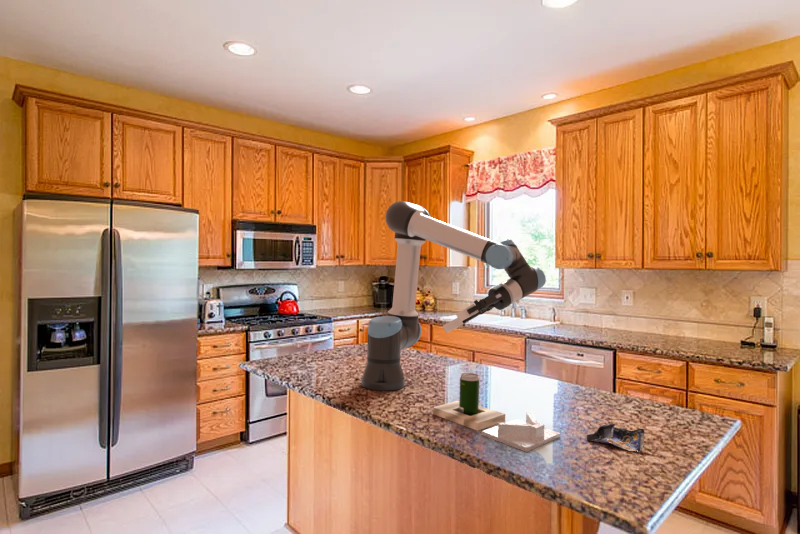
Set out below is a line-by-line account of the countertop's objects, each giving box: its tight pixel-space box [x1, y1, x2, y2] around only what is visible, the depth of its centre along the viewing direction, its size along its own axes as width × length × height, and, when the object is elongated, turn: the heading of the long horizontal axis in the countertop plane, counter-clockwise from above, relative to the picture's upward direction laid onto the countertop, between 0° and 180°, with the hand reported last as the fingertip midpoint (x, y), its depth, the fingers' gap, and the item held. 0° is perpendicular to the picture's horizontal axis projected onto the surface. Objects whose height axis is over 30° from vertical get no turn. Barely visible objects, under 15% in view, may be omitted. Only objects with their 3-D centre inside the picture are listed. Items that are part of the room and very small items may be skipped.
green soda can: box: [459, 372, 480, 416], centre depth 128 cm, size 5×5×12 cm
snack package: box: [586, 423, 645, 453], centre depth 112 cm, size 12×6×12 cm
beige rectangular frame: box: [432, 400, 506, 432], centre depth 128 cm, size 16×12×2 cm
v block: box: [481, 412, 561, 453], centre depth 115 cm, size 13×15×4 cm
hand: (451, 323), depth 140 cm, fingers open, 13 cm apart
